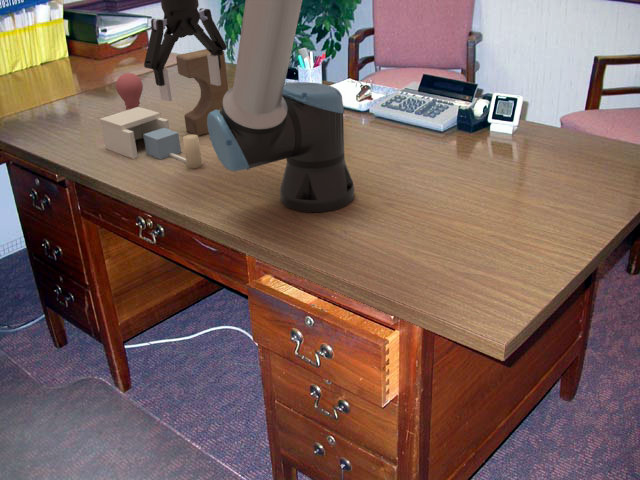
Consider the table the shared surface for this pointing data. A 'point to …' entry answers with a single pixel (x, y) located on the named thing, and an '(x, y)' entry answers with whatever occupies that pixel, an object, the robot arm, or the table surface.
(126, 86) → the light bulb
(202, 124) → the decorative block
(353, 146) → the table surface
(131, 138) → the shelf lane
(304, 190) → the robot arm
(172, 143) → the tethered block
